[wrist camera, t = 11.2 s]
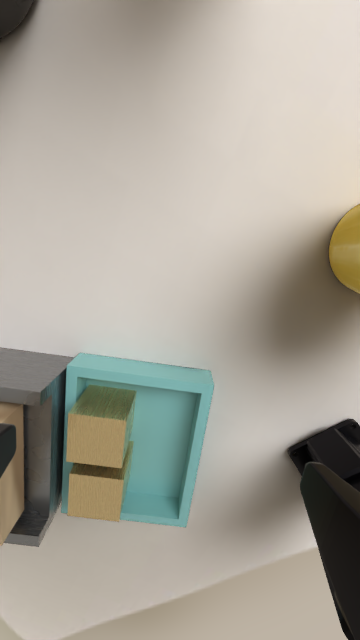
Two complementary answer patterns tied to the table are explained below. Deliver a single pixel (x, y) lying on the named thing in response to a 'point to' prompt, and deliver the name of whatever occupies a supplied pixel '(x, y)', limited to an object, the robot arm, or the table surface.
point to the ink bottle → (12, 14)
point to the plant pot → (347, 250)
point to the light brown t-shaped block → (12, 473)
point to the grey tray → (37, 435)
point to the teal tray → (151, 431)
